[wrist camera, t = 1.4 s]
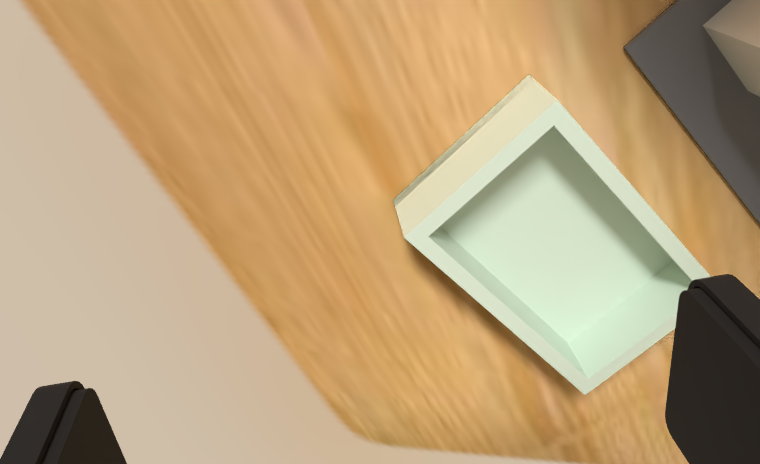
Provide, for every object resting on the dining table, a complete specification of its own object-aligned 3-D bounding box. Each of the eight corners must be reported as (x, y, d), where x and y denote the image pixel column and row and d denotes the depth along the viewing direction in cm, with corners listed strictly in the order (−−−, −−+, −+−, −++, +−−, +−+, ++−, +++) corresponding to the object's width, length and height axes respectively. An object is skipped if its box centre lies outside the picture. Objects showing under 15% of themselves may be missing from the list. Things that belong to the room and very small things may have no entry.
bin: (528, 74, 32) (557, 99, 29) (685, 252, 38) (724, 292, 34) (393, 199, 34) (403, 237, 31) (560, 349, 40) (585, 395, 37)
